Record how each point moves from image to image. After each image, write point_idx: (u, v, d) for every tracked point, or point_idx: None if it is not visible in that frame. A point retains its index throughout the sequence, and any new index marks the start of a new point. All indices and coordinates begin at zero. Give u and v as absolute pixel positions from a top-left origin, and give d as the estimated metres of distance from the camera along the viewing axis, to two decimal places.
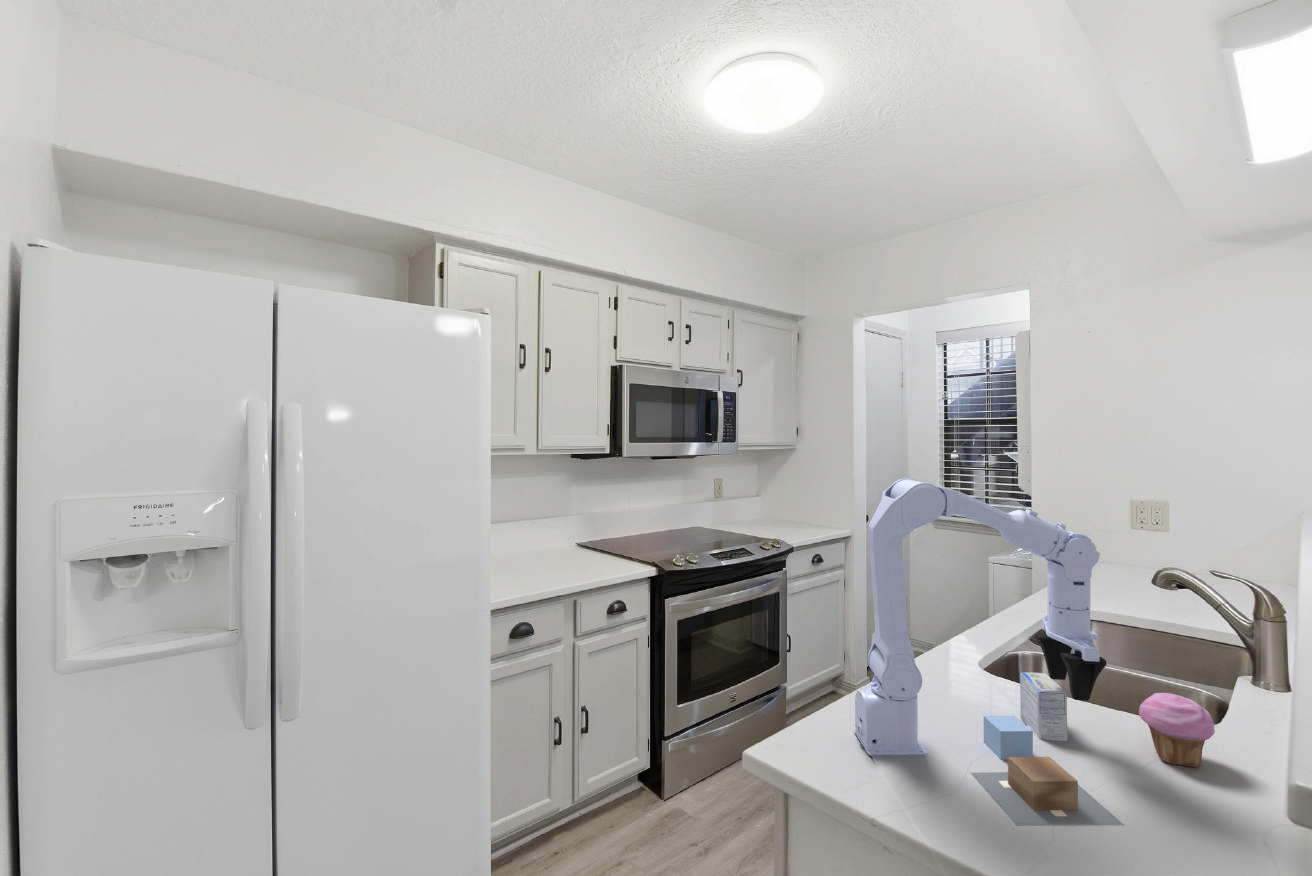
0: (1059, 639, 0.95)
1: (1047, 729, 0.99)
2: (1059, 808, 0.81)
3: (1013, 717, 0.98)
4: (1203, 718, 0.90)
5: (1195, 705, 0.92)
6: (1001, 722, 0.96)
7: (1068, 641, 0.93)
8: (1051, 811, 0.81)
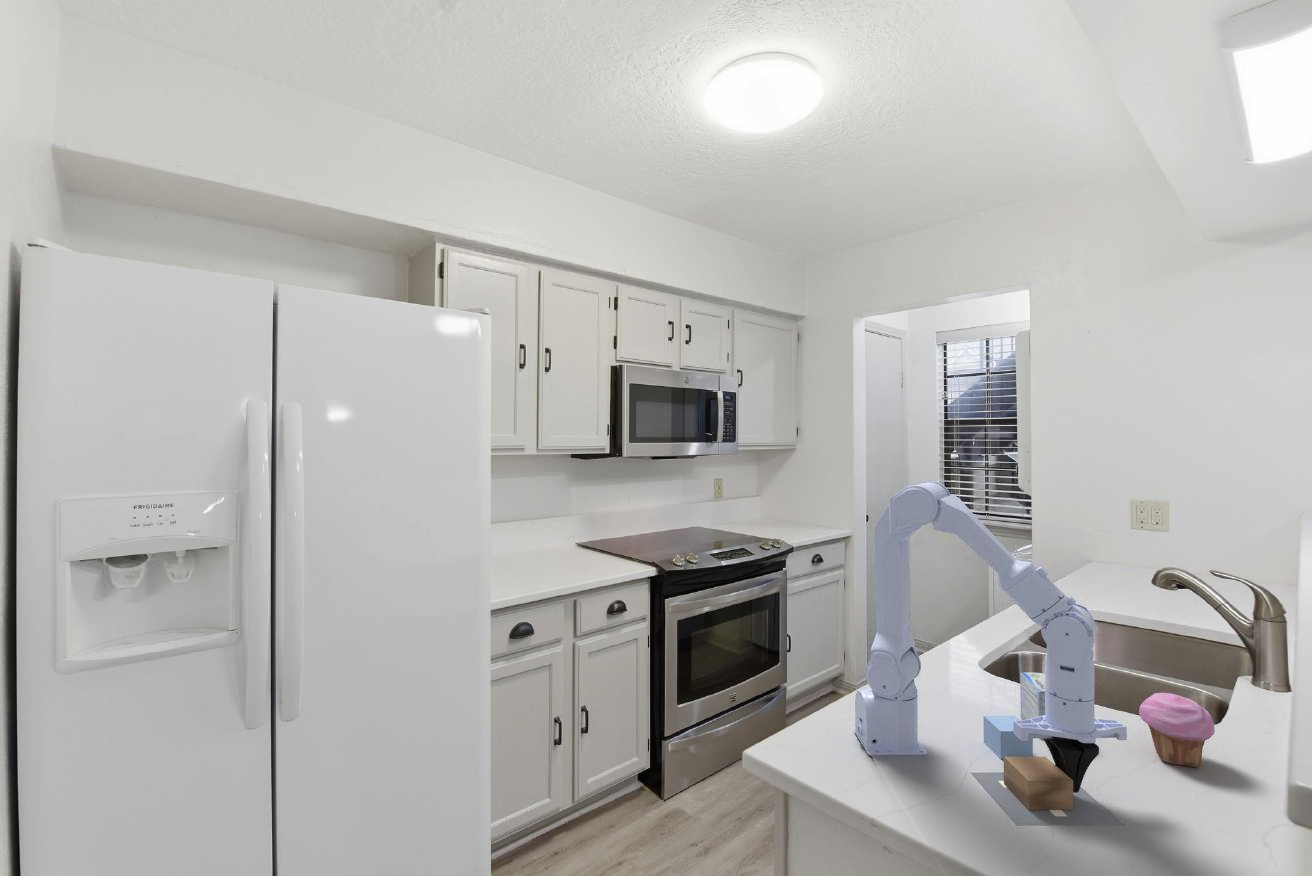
0: (1041, 718, 0.87)
1: None
2: (1054, 807, 0.81)
3: (1013, 717, 0.98)
4: (1203, 718, 0.90)
5: (1195, 705, 0.92)
6: (1001, 722, 0.96)
7: None
8: (1051, 811, 0.81)
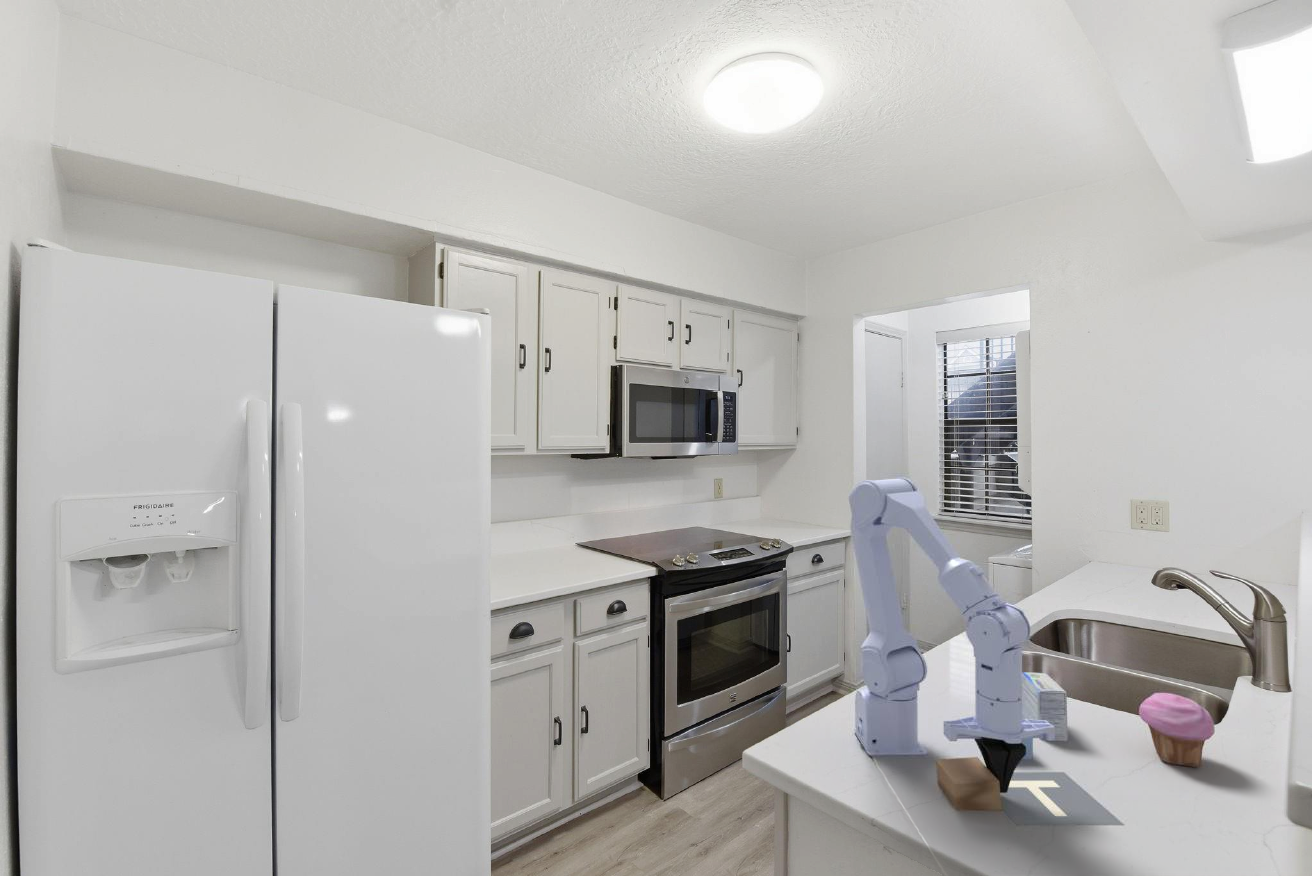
0: (972, 719, 0.87)
1: None
2: (983, 809, 0.82)
3: None
4: (1203, 718, 0.90)
5: (1195, 705, 0.92)
6: None
7: (963, 719, 0.86)
8: (1051, 811, 0.81)
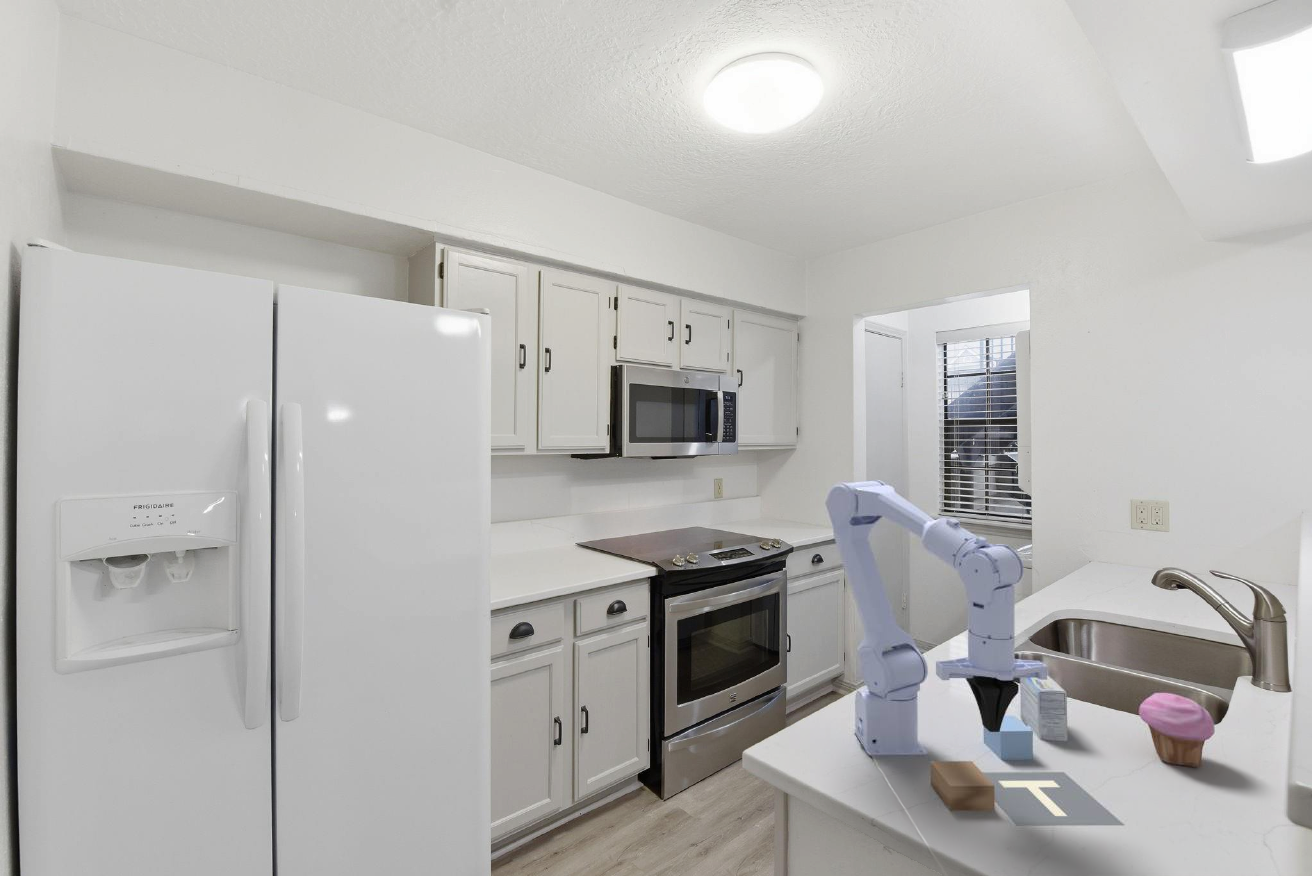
0: (965, 660, 0.87)
1: (1047, 729, 0.99)
2: None
3: (1013, 717, 0.98)
4: (1203, 718, 0.90)
5: (1195, 705, 0.92)
6: None
7: (956, 660, 0.86)
8: (1051, 811, 0.81)
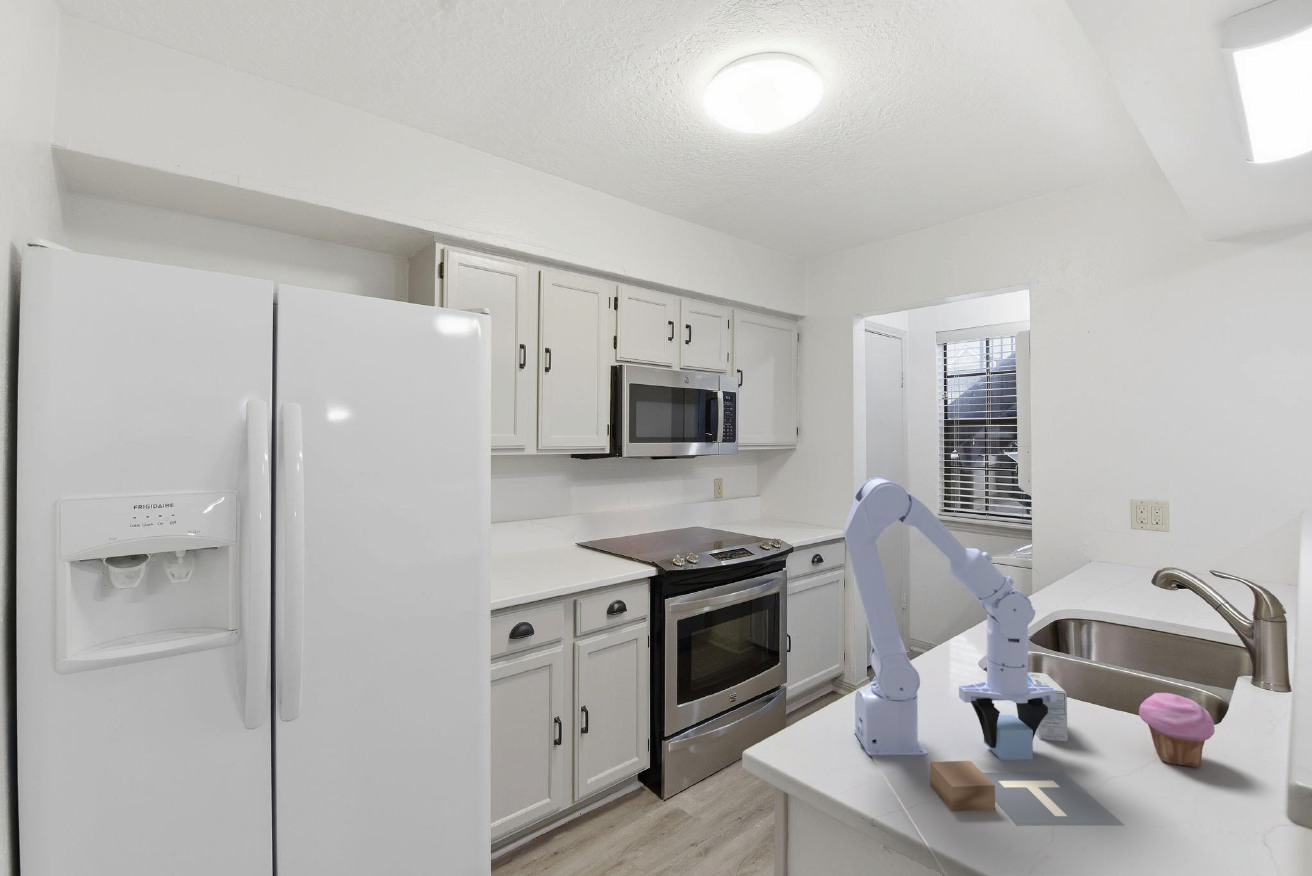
0: (984, 684, 0.99)
1: (1047, 729, 0.99)
2: None
3: (1013, 716, 0.98)
4: (1203, 718, 0.90)
5: (1195, 705, 0.92)
6: (1001, 722, 0.96)
7: None
8: (1051, 811, 0.81)
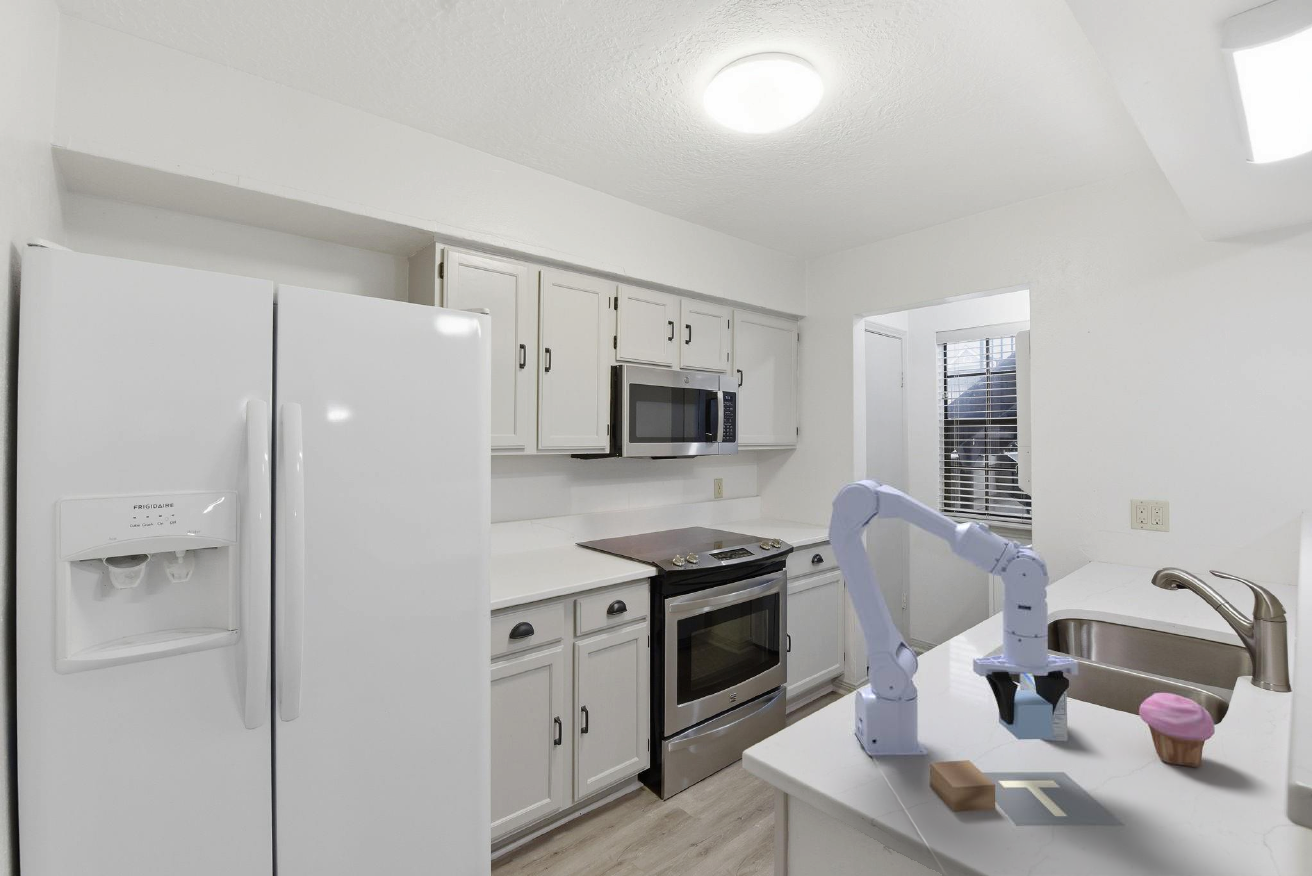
0: (999, 657, 0.92)
1: None
2: None
3: (1030, 691, 0.92)
4: (1203, 718, 0.90)
5: (1195, 705, 0.92)
6: (1018, 697, 0.90)
7: None
8: (1051, 811, 0.81)
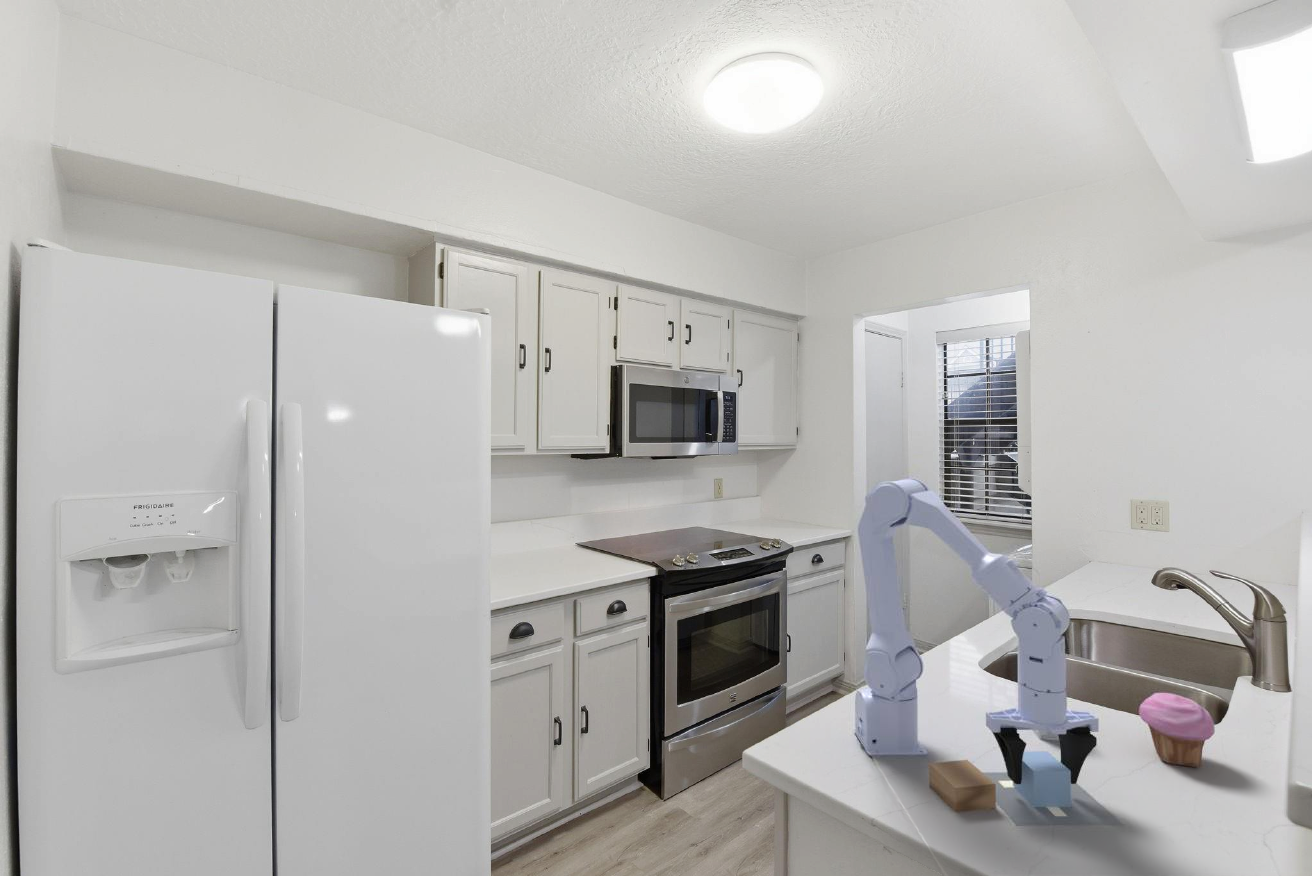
0: (1014, 710, 0.87)
1: None
2: None
3: (1046, 753, 0.86)
4: (1203, 718, 0.90)
5: (1195, 705, 0.92)
6: (1033, 760, 0.85)
7: None
8: (1051, 811, 0.81)
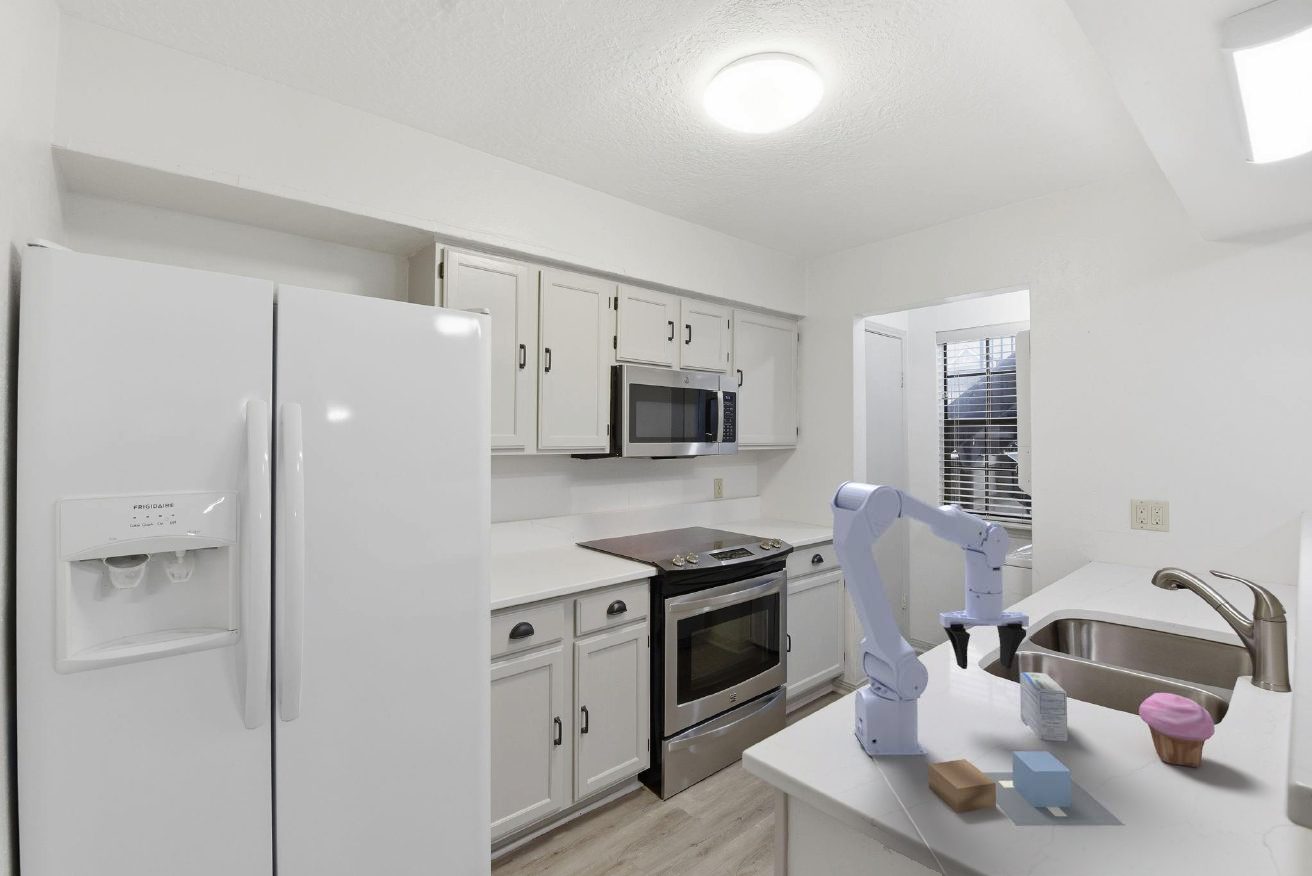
0: None
1: (1047, 729, 0.99)
2: None
3: (1046, 753, 0.86)
4: (1203, 718, 0.90)
5: (1195, 705, 0.92)
6: (1033, 760, 0.85)
7: (955, 612, 1.07)
8: (1051, 811, 0.81)
